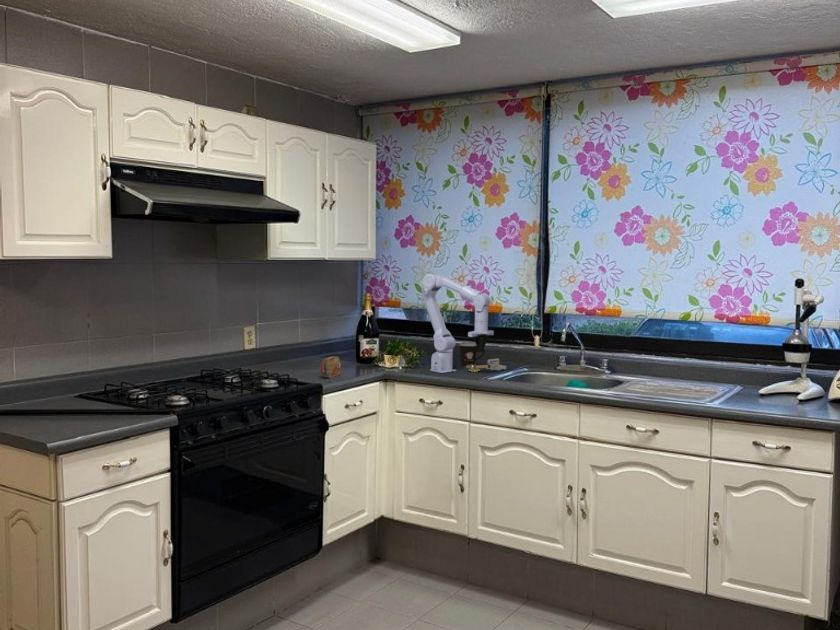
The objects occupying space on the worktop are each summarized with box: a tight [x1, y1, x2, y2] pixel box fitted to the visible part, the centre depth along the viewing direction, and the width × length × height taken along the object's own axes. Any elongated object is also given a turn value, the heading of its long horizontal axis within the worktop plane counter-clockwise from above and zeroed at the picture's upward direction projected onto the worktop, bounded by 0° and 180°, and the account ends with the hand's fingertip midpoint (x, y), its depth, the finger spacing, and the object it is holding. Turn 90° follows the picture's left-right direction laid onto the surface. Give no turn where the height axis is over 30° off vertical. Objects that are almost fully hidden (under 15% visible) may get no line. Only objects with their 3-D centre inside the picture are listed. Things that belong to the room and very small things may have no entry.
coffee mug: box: [458, 343, 486, 367], centre depth 356 cm, size 12×9×10 cm
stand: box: [486, 358, 507, 371], centre depth 348 cm, size 8×5×4 cm, turn 134°
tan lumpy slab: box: [320, 355, 342, 379], centre depth 319 cm, size 15×3×8 cm, turn 161°
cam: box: [465, 363, 491, 373], centre depth 341 cm, size 11×6×3 cm, turn 113°
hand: (480, 352), depth 330 cm, fingers closed
